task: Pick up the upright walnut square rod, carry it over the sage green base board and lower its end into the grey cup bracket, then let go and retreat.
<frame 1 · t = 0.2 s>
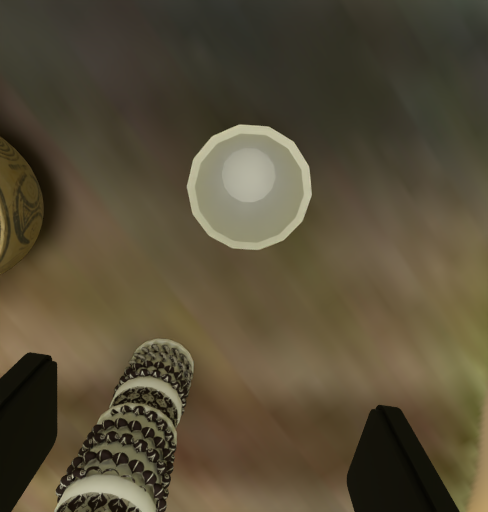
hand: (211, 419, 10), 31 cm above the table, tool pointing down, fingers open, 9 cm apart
decorative candle: (163, 363, 46), on the table
foam cup: (248, 174, 38), on the table
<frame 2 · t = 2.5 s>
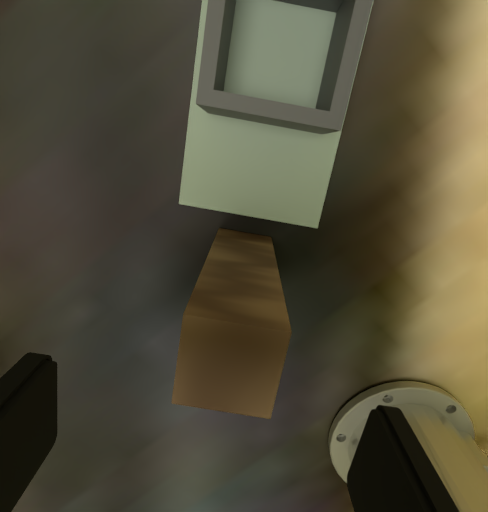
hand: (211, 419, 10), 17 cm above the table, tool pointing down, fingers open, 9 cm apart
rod: (240, 257, 26), on the table
cup bracket: (271, 88, 23), on the table
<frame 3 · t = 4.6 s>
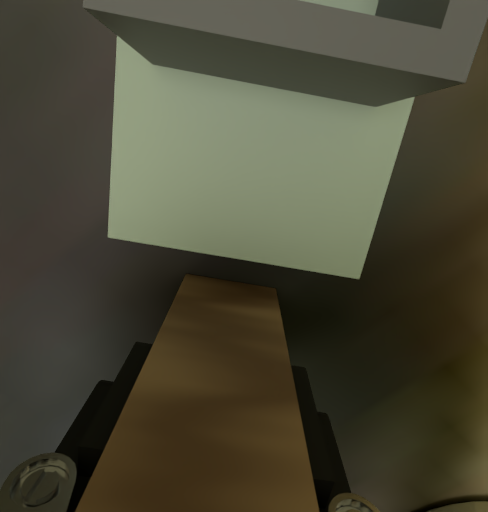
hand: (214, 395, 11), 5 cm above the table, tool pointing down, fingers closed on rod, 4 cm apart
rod: (224, 320, 16), on the table, touching gripper
cup bracket: (276, 19, 12), on the table
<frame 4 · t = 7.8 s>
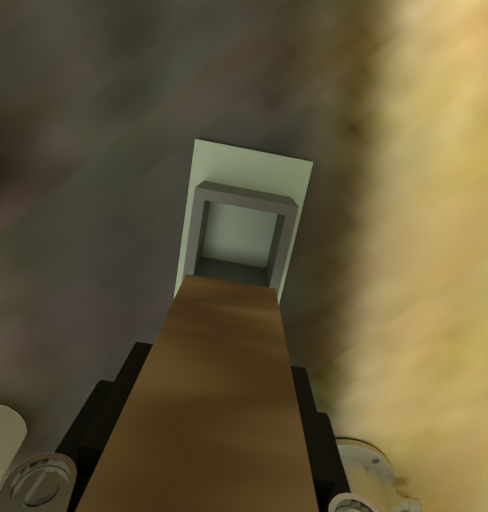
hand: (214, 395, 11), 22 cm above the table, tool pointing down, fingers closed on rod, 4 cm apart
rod: (224, 321, 16), point 17 cm above the table, touching gripper
foam cup: (0, 424, 39), on the table
cup bracket: (237, 243, 32), on the table
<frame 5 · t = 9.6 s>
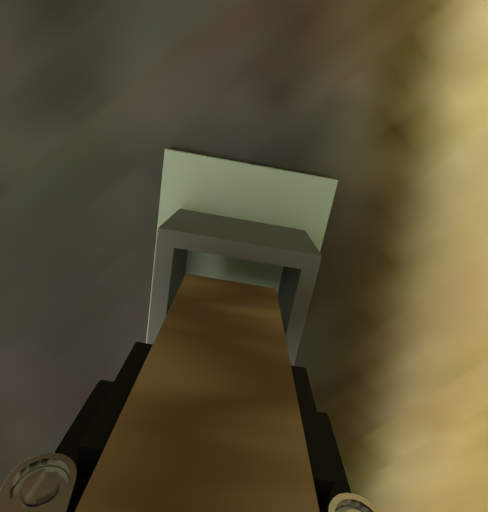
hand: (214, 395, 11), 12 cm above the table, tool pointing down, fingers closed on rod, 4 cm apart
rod: (224, 320, 16), point 7 cm above the table, touching gripper
cup bracket: (229, 291, 23), on the table
when the fingers open (8 cm above the table, at t = 11.2 s): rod drops 2 cm, resting on cup bracket.
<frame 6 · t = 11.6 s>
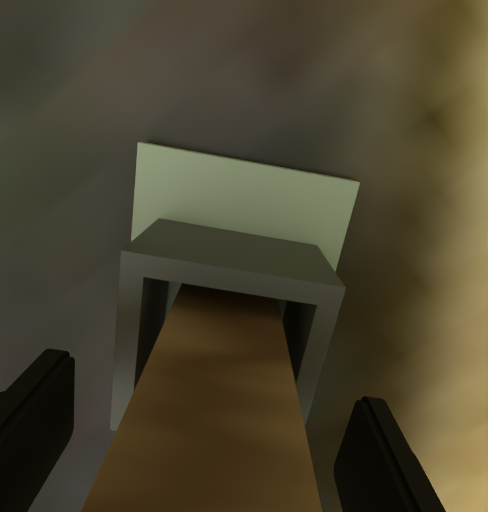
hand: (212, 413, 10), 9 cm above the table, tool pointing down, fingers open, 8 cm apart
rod: (225, 303, 17), point 1 cm above the table, touching cup bracket
cup bracket: (223, 317, 19), on the table
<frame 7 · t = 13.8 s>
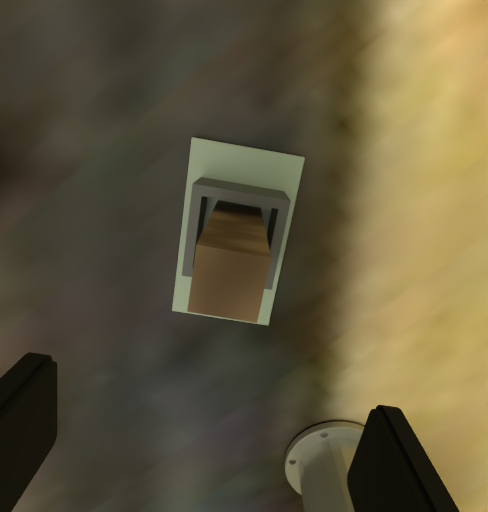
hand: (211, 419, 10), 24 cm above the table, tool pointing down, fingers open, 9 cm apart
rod: (235, 224, 32), point 1 cm above the table, touching cup bracket
cup bracket: (233, 236, 33), on the table
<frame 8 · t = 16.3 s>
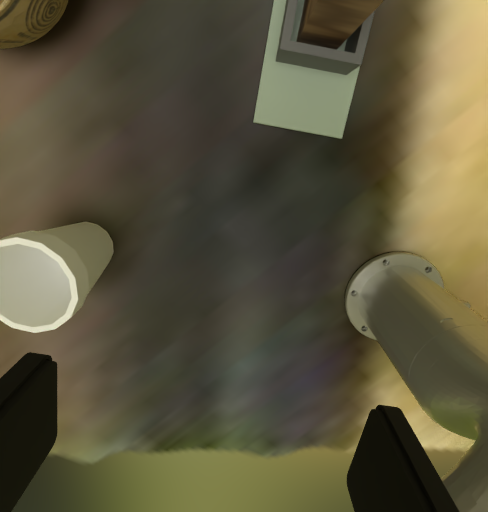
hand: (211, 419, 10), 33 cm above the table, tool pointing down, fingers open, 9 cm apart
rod: (319, 26, 34), point 1 cm above the table, touching cup bracket
foam cup: (89, 245, 43), on the table
cup bracket: (313, 46, 36), on the table
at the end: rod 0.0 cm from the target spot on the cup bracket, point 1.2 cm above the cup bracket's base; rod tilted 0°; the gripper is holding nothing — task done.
